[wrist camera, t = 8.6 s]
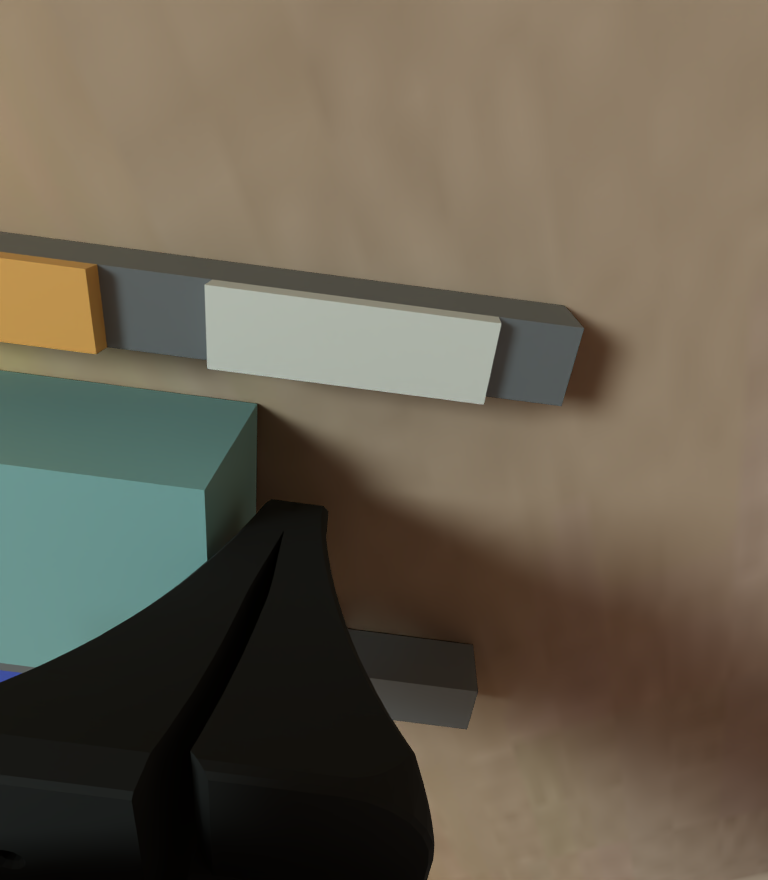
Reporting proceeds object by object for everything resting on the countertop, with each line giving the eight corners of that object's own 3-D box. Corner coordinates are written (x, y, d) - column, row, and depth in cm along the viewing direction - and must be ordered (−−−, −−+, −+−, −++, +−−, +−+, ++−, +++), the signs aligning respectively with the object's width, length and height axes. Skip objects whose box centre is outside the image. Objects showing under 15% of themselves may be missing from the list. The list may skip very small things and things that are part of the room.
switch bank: (564, 305, 11) (590, 335, 9) (473, 645, 16) (479, 705, 14) (-247, 198, 11) (-365, 210, 9) (-105, 571, 16) (-168, 623, 14)
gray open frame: (473, 645, 16) (479, 705, 14) (405, 895, 22) (404, 957, 21) (-323, 542, 16) (-414, 592, 14) (-154, 826, 22) (-201, 882, 20)
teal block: (257, 403, 13) (204, 490, 9) (255, 575, 15) (212, 689, 12) (-13, 368, 13) (-154, 444, 9) (28, 546, 15) (-74, 653, 12)
